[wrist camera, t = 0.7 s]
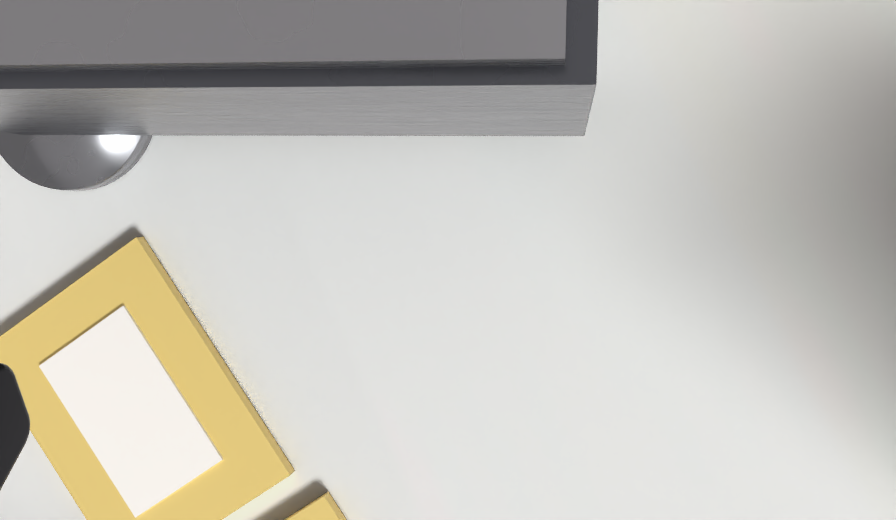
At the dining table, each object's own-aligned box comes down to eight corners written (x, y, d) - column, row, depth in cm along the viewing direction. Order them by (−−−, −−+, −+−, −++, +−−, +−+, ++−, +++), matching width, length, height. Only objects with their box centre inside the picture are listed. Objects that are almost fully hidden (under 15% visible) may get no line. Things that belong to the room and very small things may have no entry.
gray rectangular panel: (22, 134, 22) (-278, 84, 14) (22, 62, 22) (-281, -28, 14) (584, 136, 20) (597, 77, 12) (586, 55, 20) (601, -56, 12)
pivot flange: (58, 224, 24) (45, 224, 23) (-33, 83, 24) (-48, 80, 23) (190, 125, 23) (180, 122, 22) (95, -19, 23) (83, -26, 22)
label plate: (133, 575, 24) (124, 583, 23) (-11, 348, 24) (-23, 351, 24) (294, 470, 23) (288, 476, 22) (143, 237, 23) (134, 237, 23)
